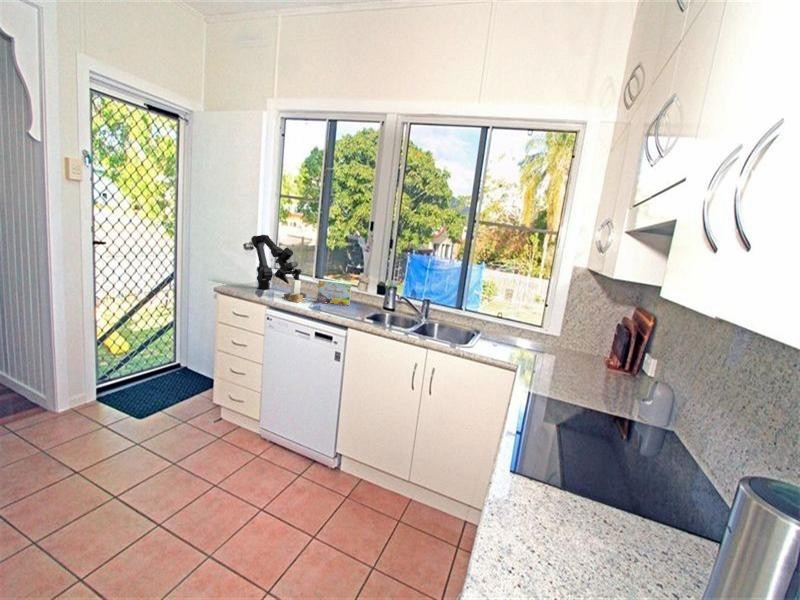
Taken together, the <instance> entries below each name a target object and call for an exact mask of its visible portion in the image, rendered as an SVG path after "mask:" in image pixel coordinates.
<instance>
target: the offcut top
mask: <svg viewBox="0 0 800 600" xmlns="http://www.w3.org/2000/svg"><path fill="white" fill-rule="evenodd" d="M290 298H293V299H297V300H299V299H303V295H300V294H296V293H292V294H290ZM303 300H304V299H303Z"/></svg>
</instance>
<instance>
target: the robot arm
mask: <svg viewBox="0 0 800 600" xmlns="http://www.w3.org/2000/svg"><path fill="white" fill-rule="evenodd" d="M250 241H251V244H252V246H253V247H254V248H255V249H256V254H257V257H258V262H259V265H260V268H259V271H258V272H259V273H258V275H257V276H256V280H257V281H258V287H257V289H258V290H264V291H267V290H270V285H271V284H270V281H272V279H273V276H274V277H275V278H277V279H279V280H281V281H283V282H284V283H285V284H287V285H289V284H290V282H289V280H288V277H287V276H286V275H291V276H292V278H293V279H294V280H299V281H301V280H300V275H301V273H303V272H302V270H301V269H300V268H297V267H298V266H299V264H298V262H297V261H289V260H290V259H291V257H292V256H293V255H294V251H293V250H292V249H290V248H289V247H285V248H284V249H283V248H282V247H280V246H277V245H276V243H275V242H274V241H273V240H272V239H271V238H270V236H269V235H268V234H260V235H253V236H251V239H250ZM265 245H266V247H267V248H268V249H269V250H270V254H271V255H272V258H273V257H274V258H276V259H275V261H274V262H275V264H278V265H279V268H278V269H277V270H276V271H275V272H274V274H273V270H272V267H269V265H268V261H267V258H266V252H265V249H264V246H265ZM288 261H289V262H288ZM294 268H295V269H294Z"/></svg>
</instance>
